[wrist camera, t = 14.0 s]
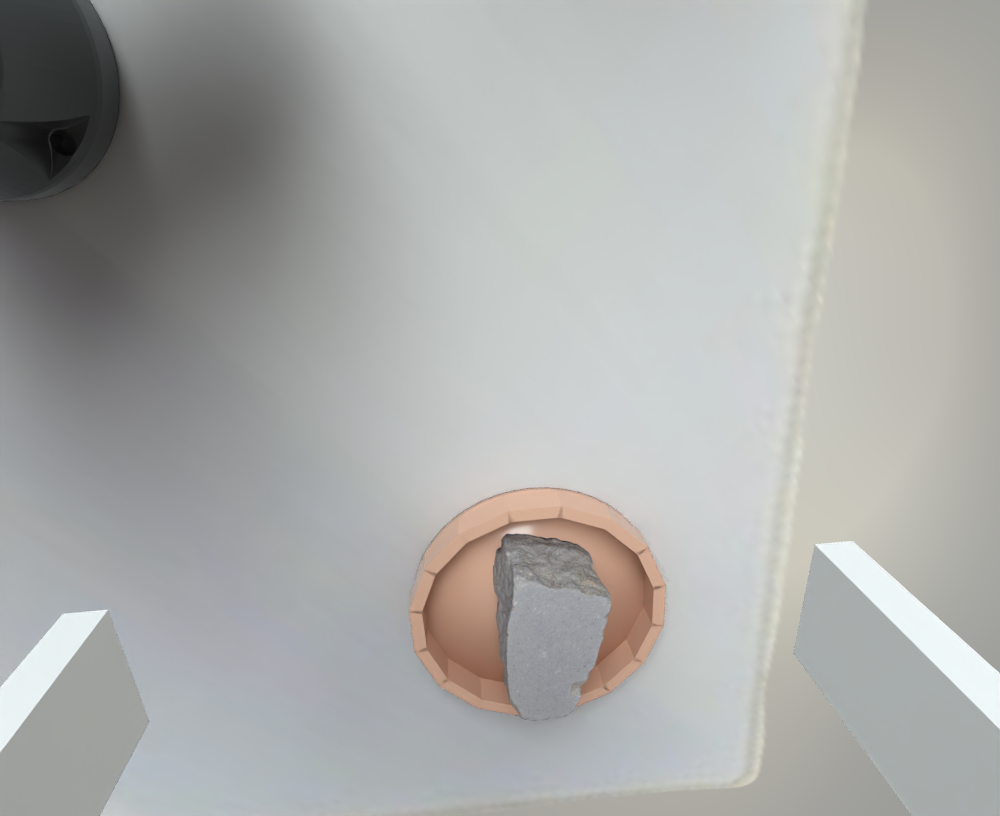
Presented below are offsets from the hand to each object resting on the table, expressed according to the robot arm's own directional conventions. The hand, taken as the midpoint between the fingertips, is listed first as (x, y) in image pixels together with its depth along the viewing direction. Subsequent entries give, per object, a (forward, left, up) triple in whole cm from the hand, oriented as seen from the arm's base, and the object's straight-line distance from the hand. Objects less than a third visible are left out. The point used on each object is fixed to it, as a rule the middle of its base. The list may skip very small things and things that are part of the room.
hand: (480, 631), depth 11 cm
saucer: (+5, -26, -33) cm, 42 cm away
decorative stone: (+5, -25, -32) cm, 41 cm away
